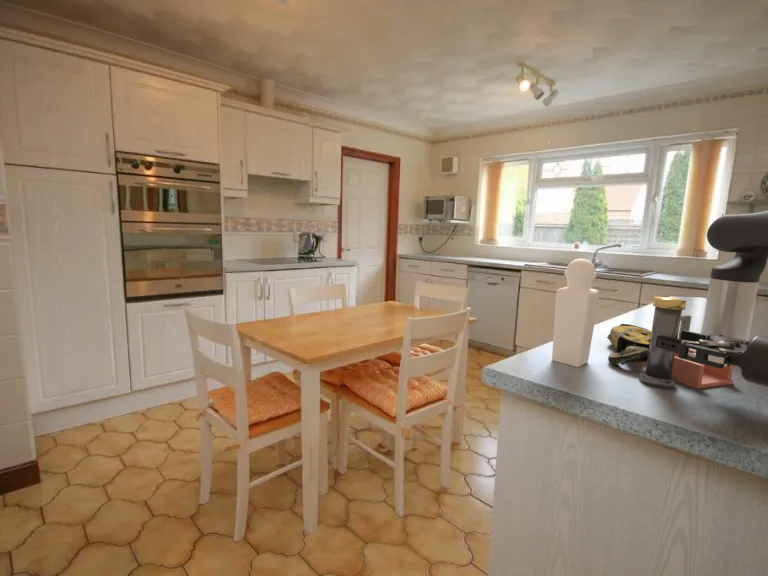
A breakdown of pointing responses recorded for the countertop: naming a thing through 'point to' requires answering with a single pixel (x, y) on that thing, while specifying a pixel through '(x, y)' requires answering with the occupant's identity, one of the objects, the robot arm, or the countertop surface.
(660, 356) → the tie-down post
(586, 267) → the white square bottle
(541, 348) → the countertop surface
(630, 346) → the pulley block
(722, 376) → the keeper bracket
